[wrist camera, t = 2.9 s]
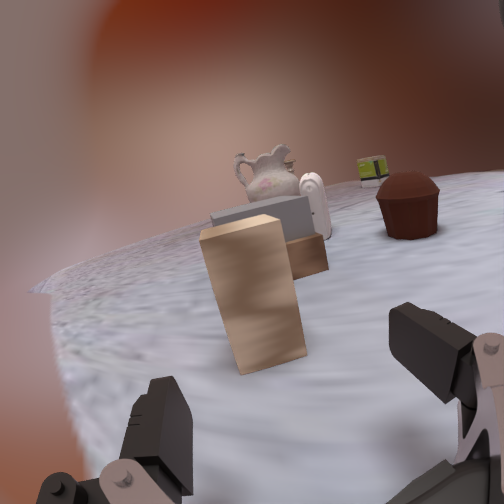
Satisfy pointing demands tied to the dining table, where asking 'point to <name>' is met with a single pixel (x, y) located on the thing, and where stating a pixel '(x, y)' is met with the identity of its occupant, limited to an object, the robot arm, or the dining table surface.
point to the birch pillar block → (254, 291)
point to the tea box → (373, 171)
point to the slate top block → (274, 215)
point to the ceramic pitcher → (268, 175)
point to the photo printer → (316, 202)
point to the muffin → (409, 205)
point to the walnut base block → (307, 256)
